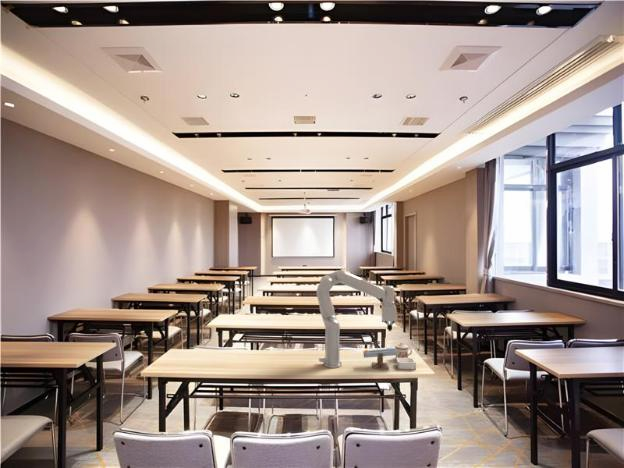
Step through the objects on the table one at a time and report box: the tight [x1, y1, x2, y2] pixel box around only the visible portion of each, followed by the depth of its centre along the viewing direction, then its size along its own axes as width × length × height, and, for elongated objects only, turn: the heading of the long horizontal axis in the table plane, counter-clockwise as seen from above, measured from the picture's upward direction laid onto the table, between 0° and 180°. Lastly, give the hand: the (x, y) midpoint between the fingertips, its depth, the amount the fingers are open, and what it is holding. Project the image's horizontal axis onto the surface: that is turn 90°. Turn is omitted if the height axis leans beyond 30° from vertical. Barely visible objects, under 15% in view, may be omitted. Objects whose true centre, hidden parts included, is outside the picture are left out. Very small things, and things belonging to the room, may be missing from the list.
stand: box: [371, 354, 390, 370], centre depth 244 cm, size 10×11×10 cm
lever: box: [362, 347, 397, 359], centre depth 247 cm, size 22×13×3 cm, turn 84°
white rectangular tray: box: [395, 357, 417, 371], centre depth 242 cm, size 11×9×4 cm
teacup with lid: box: [394, 341, 413, 359], centre depth 258 cm, size 12×9×12 cm
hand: (389, 330), depth 250 cm, fingers closed
